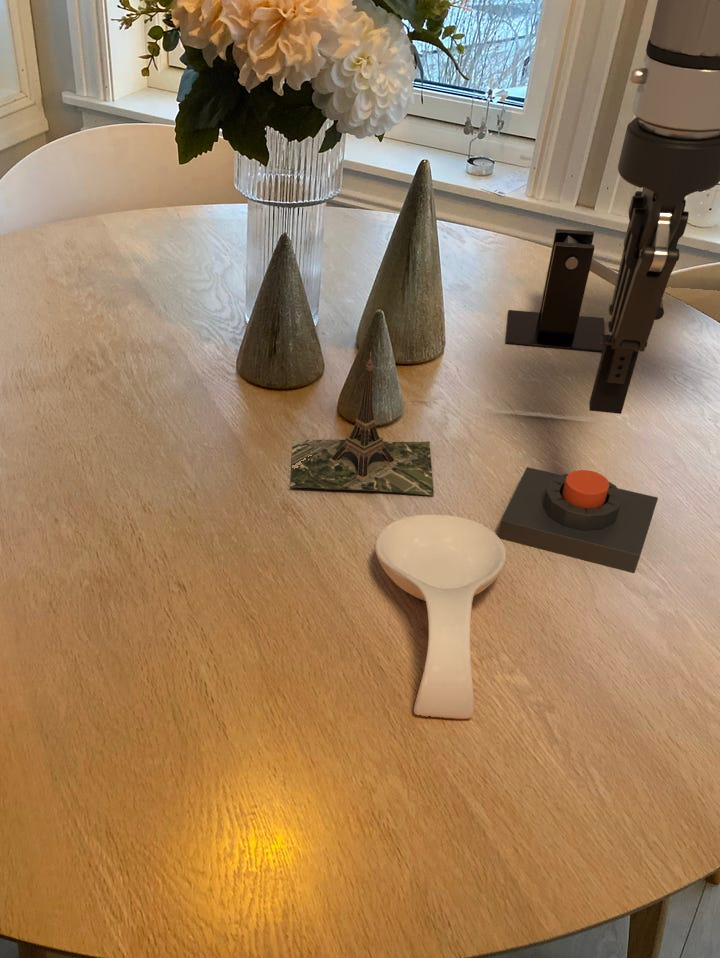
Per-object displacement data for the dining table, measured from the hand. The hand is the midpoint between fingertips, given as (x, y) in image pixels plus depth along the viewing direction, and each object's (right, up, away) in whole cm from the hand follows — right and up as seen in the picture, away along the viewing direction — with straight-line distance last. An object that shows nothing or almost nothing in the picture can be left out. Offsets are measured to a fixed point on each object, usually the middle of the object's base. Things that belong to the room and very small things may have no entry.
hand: (605, 407), depth 89 cm
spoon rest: (-15, -19, 0) cm, 24 cm away
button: (0, -7, +7) cm, 10 cm away
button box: (0, -10, +9) cm, 13 cm away
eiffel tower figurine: (-20, -3, +17) cm, 27 cm away
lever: (+12, +22, +31) cm, 40 cm away
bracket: (+7, +17, +37) cm, 42 cm away
